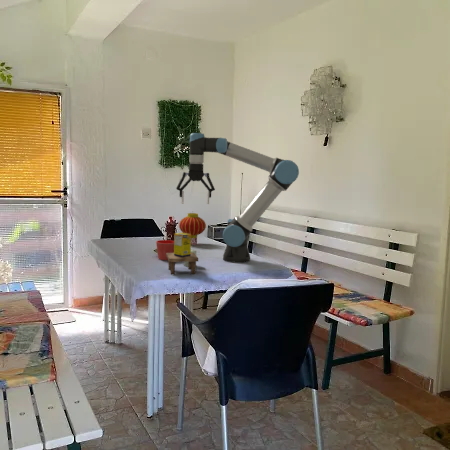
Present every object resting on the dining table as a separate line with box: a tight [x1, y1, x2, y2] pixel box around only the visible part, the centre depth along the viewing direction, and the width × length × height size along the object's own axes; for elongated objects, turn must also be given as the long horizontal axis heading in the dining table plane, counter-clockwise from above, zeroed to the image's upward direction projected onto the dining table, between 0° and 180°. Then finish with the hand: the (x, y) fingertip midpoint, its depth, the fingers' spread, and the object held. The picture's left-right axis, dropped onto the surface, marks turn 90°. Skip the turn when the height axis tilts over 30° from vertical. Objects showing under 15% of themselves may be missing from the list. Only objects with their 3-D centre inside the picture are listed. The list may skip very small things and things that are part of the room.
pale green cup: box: [183, 249, 197, 268], centre depth 251 cm, size 6×6×8 cm
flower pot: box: [155, 239, 174, 261], centre depth 266 cm, size 11×11×10 cm
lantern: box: [178, 212, 207, 246], centre depth 311 cm, size 17×17×30 cm
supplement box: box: [173, 232, 192, 257], centre depth 237 cm, size 6×6×11 cm
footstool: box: [166, 253, 199, 275], centre depth 239 cm, size 14×14×8 cm
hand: (195, 203), depth 256 cm, fingers open, 13 cm apart
